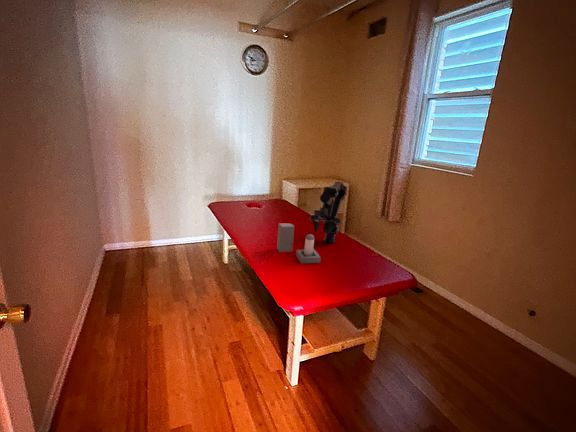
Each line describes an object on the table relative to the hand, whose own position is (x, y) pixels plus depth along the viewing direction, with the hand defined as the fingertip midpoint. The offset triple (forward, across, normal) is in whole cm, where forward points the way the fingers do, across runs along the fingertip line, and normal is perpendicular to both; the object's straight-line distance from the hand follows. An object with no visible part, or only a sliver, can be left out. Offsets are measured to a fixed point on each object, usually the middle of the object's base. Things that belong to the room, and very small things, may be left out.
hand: (321, 233), depth 182 cm
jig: (+16, -2, -4) cm, 17 cm away
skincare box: (+14, -19, -7) cm, 24 cm away
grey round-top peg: (+15, -2, -5) cm, 16 cm away
